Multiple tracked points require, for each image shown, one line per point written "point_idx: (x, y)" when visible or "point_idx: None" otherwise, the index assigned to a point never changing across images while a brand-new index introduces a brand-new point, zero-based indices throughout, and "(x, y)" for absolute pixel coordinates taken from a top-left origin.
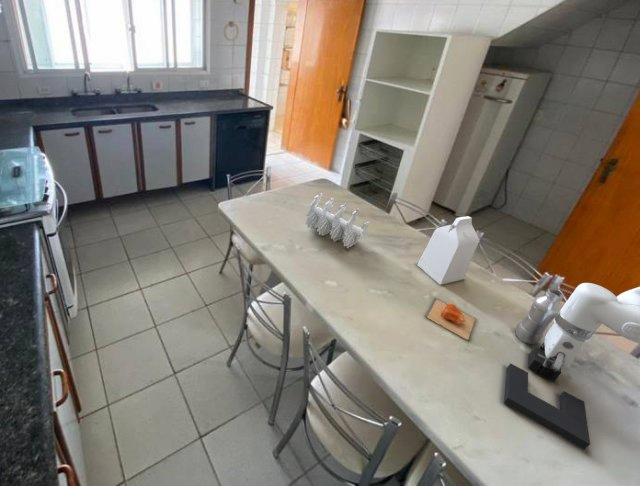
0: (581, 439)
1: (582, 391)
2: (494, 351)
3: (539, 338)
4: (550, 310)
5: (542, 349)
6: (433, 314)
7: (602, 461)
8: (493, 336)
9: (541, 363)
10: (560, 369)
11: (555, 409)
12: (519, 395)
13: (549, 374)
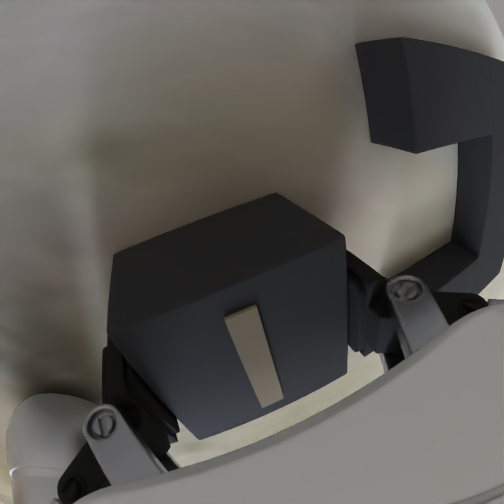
0: None
1: (173, 32)
2: (311, 397)
3: (69, 451)
4: None
5: (173, 421)
6: None
7: (481, 22)
8: (224, 441)
9: (373, 350)
10: (298, 260)
11: (498, 167)
12: (492, 262)
13: (365, 263)
